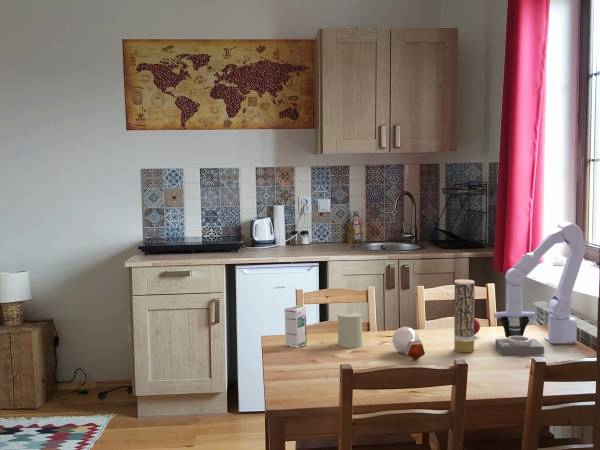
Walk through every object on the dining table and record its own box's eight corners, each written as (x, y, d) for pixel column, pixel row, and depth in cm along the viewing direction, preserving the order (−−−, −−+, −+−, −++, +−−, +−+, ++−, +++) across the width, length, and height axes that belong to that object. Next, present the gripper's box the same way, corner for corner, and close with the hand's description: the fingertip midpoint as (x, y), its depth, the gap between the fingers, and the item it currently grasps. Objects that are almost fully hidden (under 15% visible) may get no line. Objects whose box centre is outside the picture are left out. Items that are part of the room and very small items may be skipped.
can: (362, 341, 261) (362, 310, 259) (362, 348, 252) (362, 315, 250) (338, 341, 262) (337, 310, 260) (337, 348, 252) (336, 315, 251)
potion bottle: (403, 352, 250) (419, 369, 236) (383, 339, 247) (397, 355, 233) (418, 331, 250) (435, 347, 236) (398, 318, 247) (414, 333, 233)
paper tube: (474, 353, 242) (474, 283, 240) (454, 353, 243) (454, 282, 241) (473, 348, 249) (474, 279, 246) (454, 347, 250) (454, 279, 248)
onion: (481, 338, 263) (481, 317, 262) (466, 338, 263) (466, 317, 262) (477, 334, 269) (478, 313, 268) (462, 334, 269) (463, 313, 268)
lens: (518, 338, 260) (518, 324, 260) (522, 342, 256) (522, 327, 255) (505, 339, 261) (506, 324, 260) (509, 342, 256) (509, 327, 255)
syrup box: (297, 348, 252) (297, 309, 251) (285, 346, 256) (284, 307, 254) (307, 345, 257) (306, 306, 255) (294, 342, 260) (293, 304, 259)
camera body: (534, 346, 249) (534, 334, 249) (543, 355, 239) (543, 342, 239) (495, 347, 250) (495, 334, 249) (502, 355, 240) (502, 342, 239)
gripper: (531, 298, 261) (530, 333, 262) (492, 298, 261) (491, 334, 262) (536, 302, 253) (536, 338, 255) (496, 302, 254) (496, 339, 255)
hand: (514, 336), depth 258 cm, fingers closed on lens, 5 cm apart
